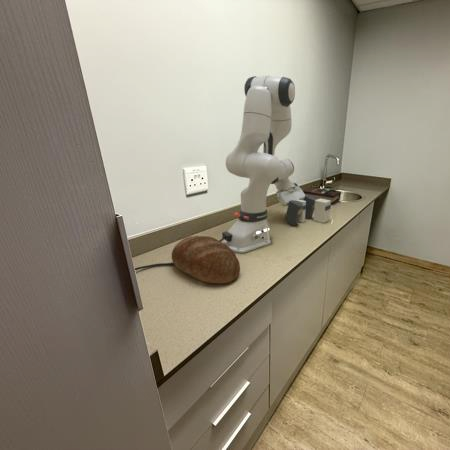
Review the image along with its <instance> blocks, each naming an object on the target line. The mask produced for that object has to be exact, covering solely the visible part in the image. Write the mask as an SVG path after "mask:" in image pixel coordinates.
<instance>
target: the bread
mask: <svg viewBox="0 0 450 450" xmlns="http://www.w3.org/2000/svg"><path fill="white" fill-rule="evenodd" d="M222 242H223V241H221V242H220V240H218V239H217V238H215V237H211V236H207V235H206V236H205V235H193V236H188V237H185V238H183V239H182V240H180V241H179V242H178V243H177V244H175V246H174V247H173V249H172V251H171V261H172V263H174V265H173V266H175V267H176V268H177V269H178V270H180V271H181V272H183V273H185V274H187V275H189V276H191V277H192V278H195V279H196V280H198V281H200V282H203V283H208V284H227V283H228V284H229V283H232V282H233V281H234V280H235V279H236V278H238V276H239V274H240V272H241V263H240V261H239V258H238V256H237V255H236V252H233V251H232V250H231V249H230V248H229V247H228V246H227V245H226V244H224V243H222Z"/></svg>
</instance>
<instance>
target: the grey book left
mask: <svg viewBox="0 0 450 450" xmlns="http://www.w3.org/2000/svg"><path fill="white" fill-rule="evenodd" d="M302 207H303V205H301V204H299V203H297V202H295V201H293V200H291V201H289V204H288V205H287V209H286V213H285V218H284V222H286V223H288V224H289V225H292V226H293V227H296V226H298V225H299V223H300V222H299V218H300V214H301V211H302Z"/></svg>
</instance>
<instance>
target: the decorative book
mask: <svg viewBox="0 0 450 450" xmlns="http://www.w3.org/2000/svg"><path fill="white" fill-rule="evenodd" d="M302 191H303V192H304V194H305V196H306V195H308V196H310V197H312V198H315V199H317V200H318V199H320V198H321V199H325V200H330V201H331V206H334V205H335V204H336V203H339V202H340V201H341V199H342V197H341V194H342V191H340V190H337V189H325V188H319V187H314V186H313V187H312V186H311V187H310V186H309V187H308V188H305V189H302ZM303 200H304V199H303Z"/></svg>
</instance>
